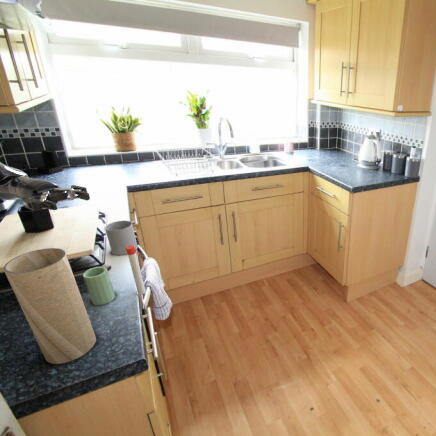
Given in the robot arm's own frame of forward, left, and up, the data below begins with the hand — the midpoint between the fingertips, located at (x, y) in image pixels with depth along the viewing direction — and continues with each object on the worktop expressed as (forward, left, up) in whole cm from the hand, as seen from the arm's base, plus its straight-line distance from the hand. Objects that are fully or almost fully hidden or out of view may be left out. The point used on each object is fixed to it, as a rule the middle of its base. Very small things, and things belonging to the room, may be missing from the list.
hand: (72, 201), depth 90 cm
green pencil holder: (-3, -11, -27) cm, 30 cm away
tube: (-16, -24, -28) cm, 40 cm away
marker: (+5, -17, -27) cm, 32 cm away
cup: (+15, +13, -28) cm, 34 cm away
